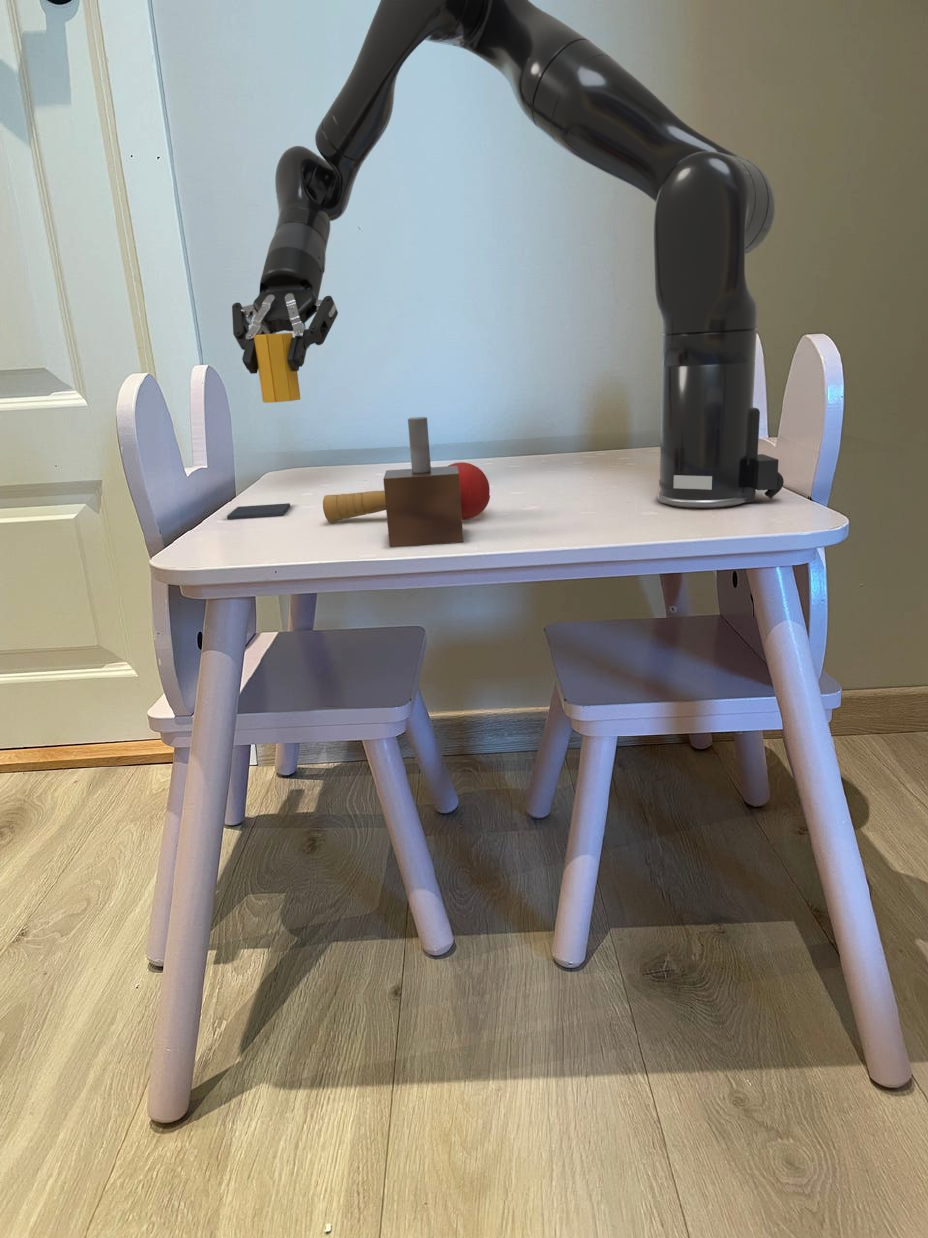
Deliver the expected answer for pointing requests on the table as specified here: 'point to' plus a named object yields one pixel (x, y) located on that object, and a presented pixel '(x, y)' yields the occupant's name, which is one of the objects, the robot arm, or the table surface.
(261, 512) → the coaster
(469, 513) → the kendama
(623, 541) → the table surface
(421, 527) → the stand
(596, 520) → the table surface
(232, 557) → the table surface
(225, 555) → the table surface
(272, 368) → the sleeve
